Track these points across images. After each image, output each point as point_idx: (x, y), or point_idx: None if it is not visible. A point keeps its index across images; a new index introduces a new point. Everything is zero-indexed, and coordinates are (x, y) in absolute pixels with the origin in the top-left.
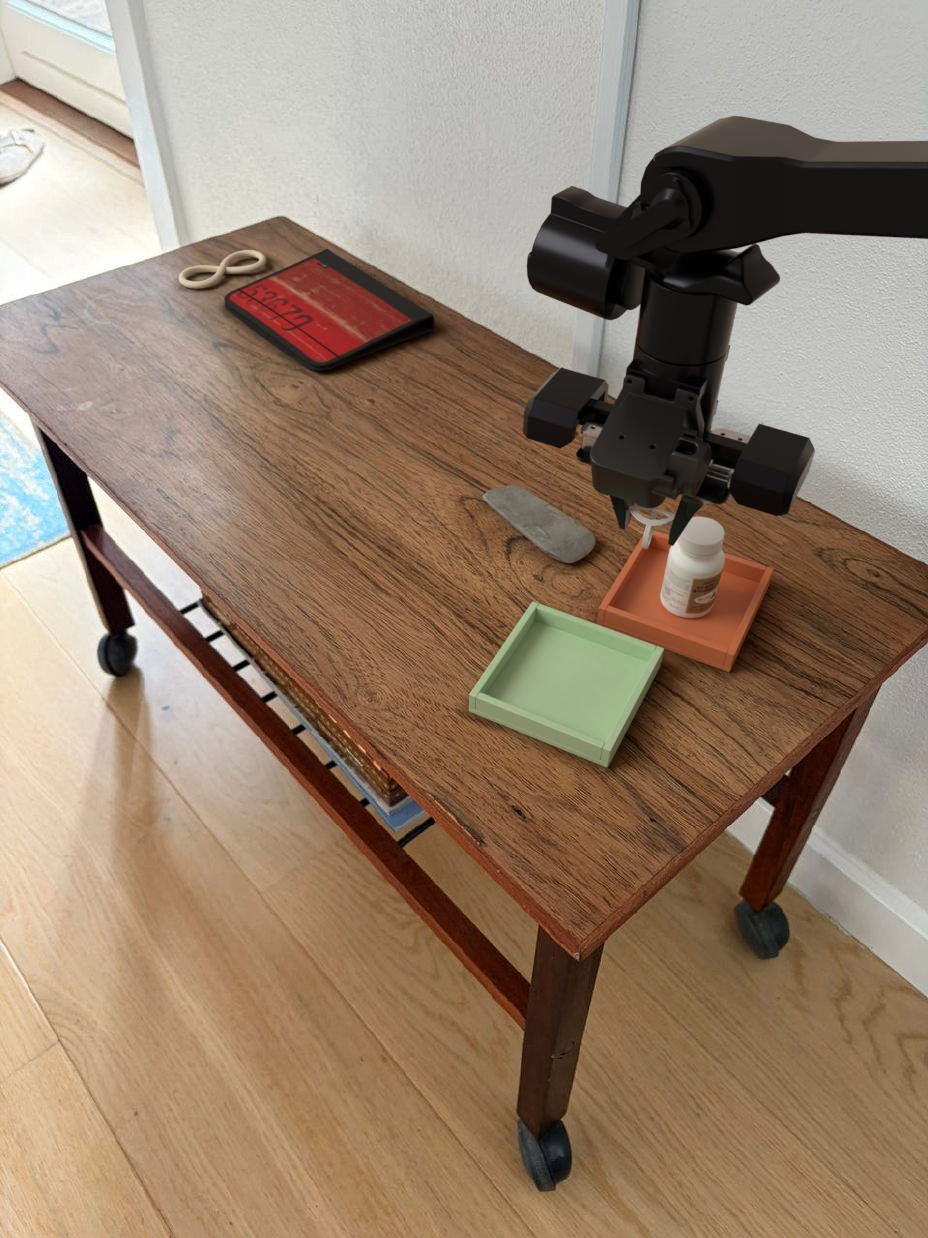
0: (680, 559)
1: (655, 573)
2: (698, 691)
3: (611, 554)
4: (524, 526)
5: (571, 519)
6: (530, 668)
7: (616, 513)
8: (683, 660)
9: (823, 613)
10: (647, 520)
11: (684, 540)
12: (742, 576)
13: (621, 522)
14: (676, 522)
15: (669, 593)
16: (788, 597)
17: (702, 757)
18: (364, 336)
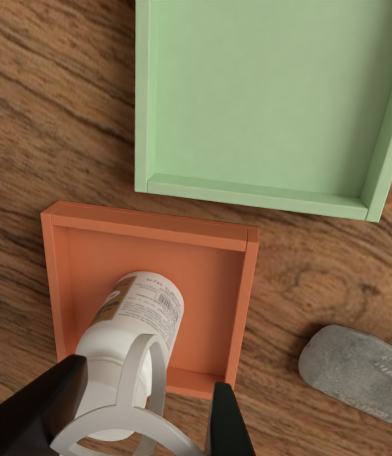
0: None
1: (202, 336)
2: (82, 150)
3: (271, 355)
4: None
5: (344, 399)
6: (346, 83)
7: (242, 433)
8: (121, 201)
9: (5, 325)
10: (130, 423)
11: None
12: None
13: (223, 402)
14: (6, 432)
15: (160, 296)
16: (47, 338)
17: (28, 17)
18: None
